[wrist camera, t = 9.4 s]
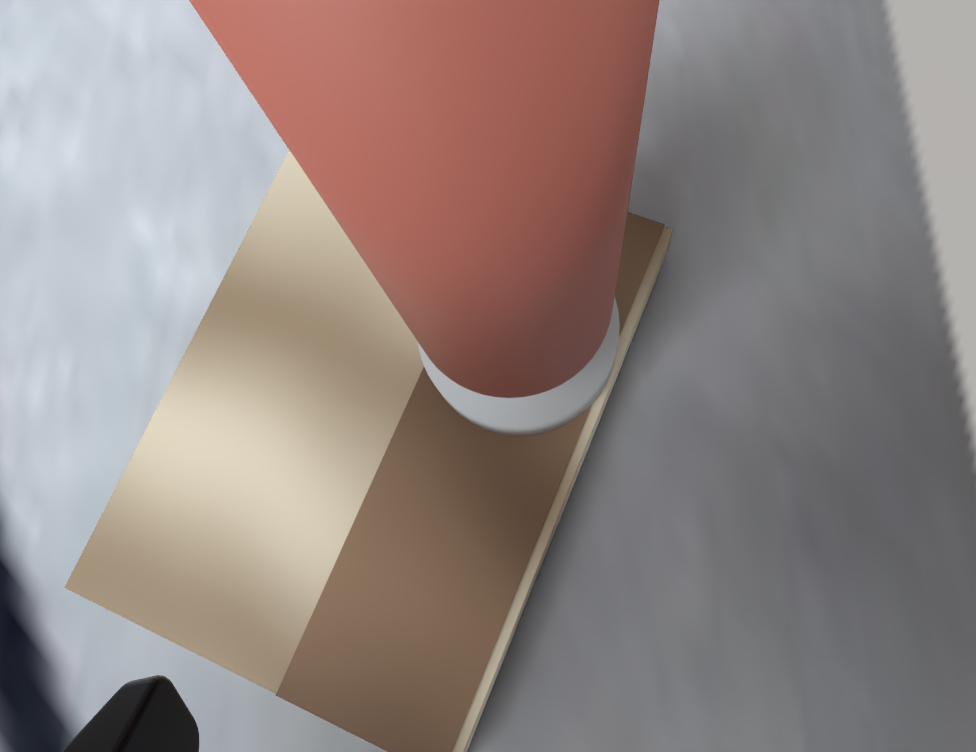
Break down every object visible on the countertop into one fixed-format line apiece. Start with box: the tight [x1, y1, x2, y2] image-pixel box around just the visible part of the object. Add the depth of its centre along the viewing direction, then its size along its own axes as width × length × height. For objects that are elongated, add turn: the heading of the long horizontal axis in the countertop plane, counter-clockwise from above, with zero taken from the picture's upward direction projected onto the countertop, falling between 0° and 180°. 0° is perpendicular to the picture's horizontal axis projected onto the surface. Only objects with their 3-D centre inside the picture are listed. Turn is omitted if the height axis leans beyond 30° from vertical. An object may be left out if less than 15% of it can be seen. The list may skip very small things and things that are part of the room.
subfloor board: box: [65, 150, 673, 752], centre depth 18 cm, size 12×9×1 cm
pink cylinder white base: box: [189, 0, 659, 436], centre depth 11 cm, size 4×4×13 cm
